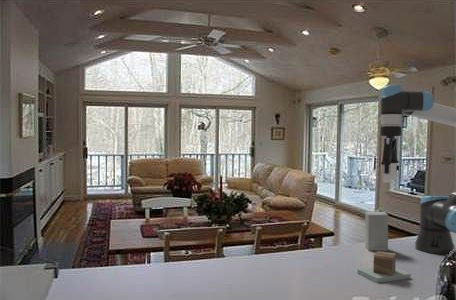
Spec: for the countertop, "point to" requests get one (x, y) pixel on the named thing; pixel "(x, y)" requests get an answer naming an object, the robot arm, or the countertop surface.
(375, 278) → the pale green flat panel
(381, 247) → the skincare box
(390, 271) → the cardboard shipping box
